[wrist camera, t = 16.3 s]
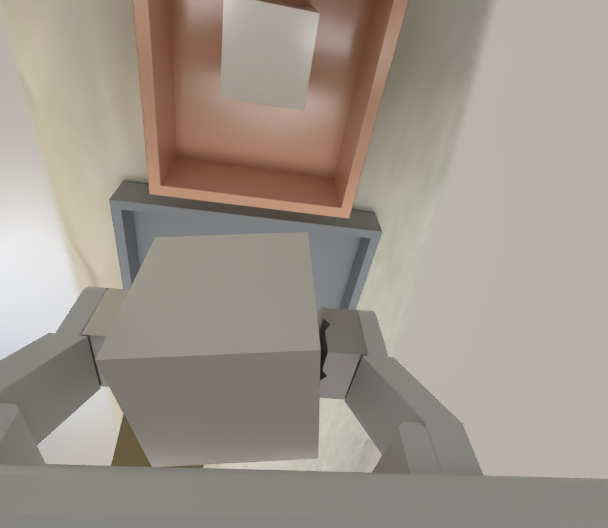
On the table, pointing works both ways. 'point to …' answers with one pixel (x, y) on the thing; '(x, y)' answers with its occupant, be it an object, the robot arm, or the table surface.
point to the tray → (248, 220)
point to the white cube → (267, 51)
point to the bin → (262, 108)
